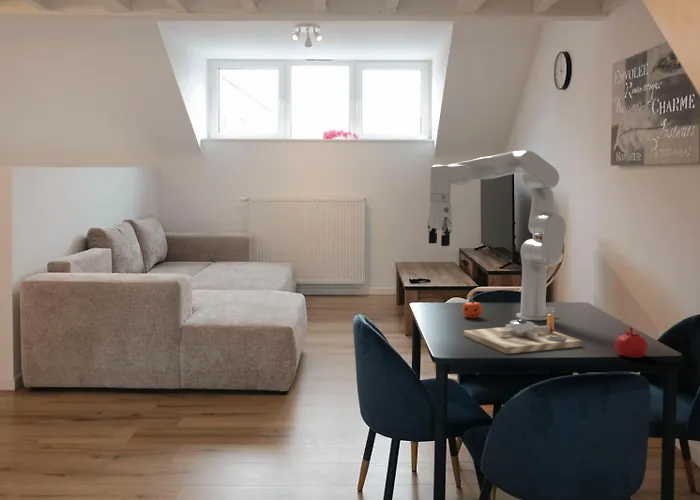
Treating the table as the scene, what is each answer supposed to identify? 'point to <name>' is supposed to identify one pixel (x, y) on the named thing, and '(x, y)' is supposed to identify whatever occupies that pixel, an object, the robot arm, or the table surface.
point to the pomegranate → (631, 345)
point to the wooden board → (521, 340)
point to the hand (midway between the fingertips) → (438, 244)
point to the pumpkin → (472, 309)
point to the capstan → (527, 328)
